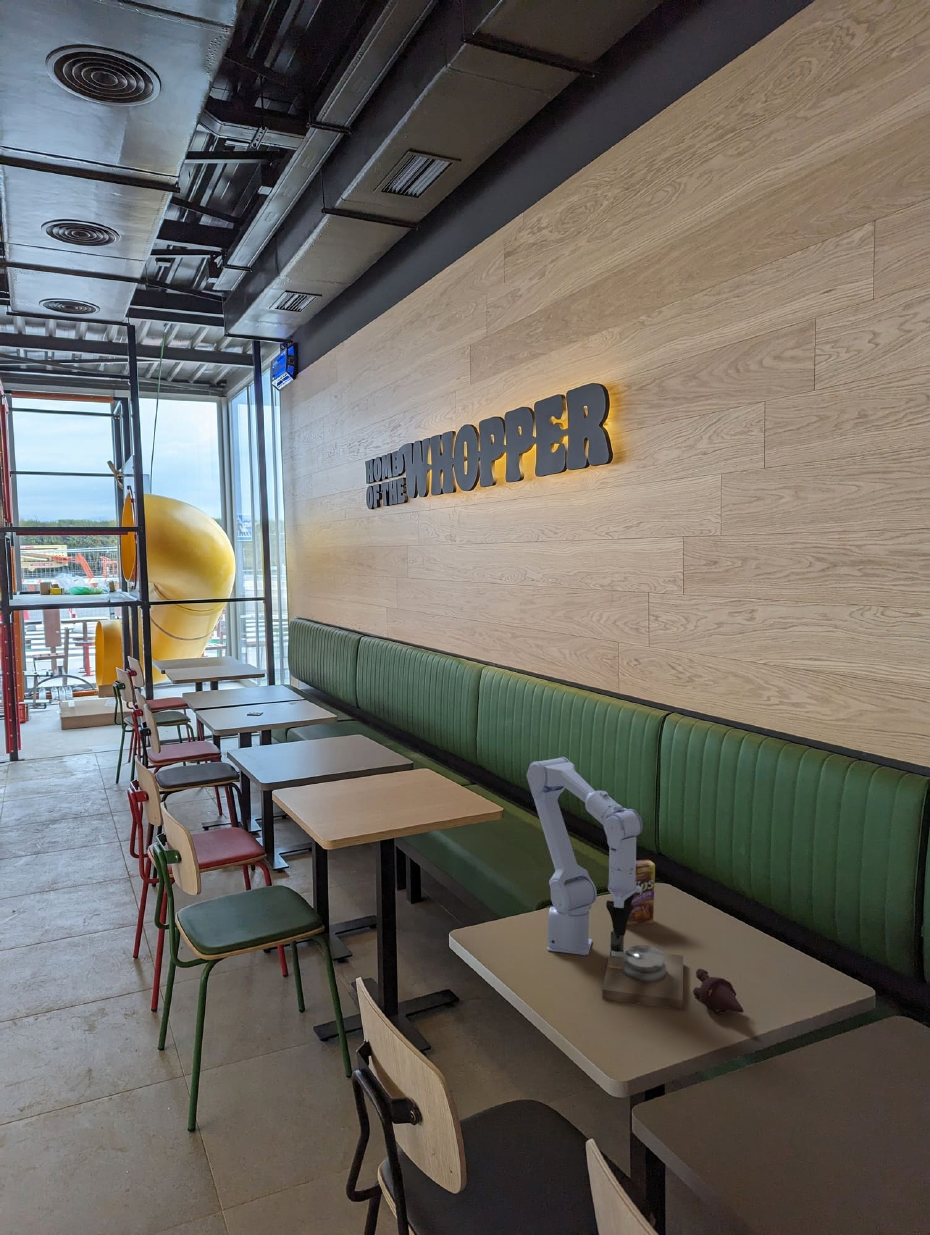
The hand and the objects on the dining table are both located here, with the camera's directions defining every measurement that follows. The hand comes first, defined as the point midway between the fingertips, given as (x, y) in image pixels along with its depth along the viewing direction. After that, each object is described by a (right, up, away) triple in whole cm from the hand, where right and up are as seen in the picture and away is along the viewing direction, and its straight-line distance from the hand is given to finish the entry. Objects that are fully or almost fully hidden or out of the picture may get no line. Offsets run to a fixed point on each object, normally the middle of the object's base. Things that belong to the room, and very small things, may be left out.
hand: (621, 927), depth 181 cm
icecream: (+17, -12, -15) cm, 25 cm away
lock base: (+5, -11, -3) cm, 12 cm away
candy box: (+8, -9, +27) cm, 30 cm away
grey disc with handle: (+3, -7, -2) cm, 8 cm away
